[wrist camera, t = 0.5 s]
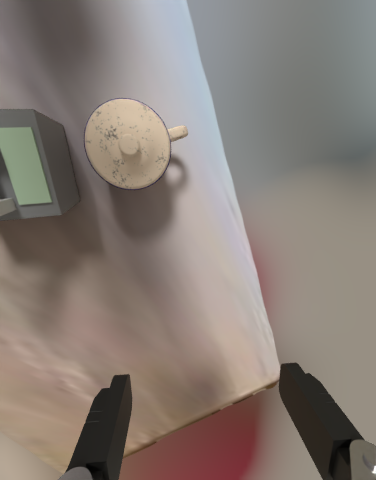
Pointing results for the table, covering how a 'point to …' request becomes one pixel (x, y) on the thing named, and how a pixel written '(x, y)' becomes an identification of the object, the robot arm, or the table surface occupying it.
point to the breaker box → (34, 166)
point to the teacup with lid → (129, 143)
